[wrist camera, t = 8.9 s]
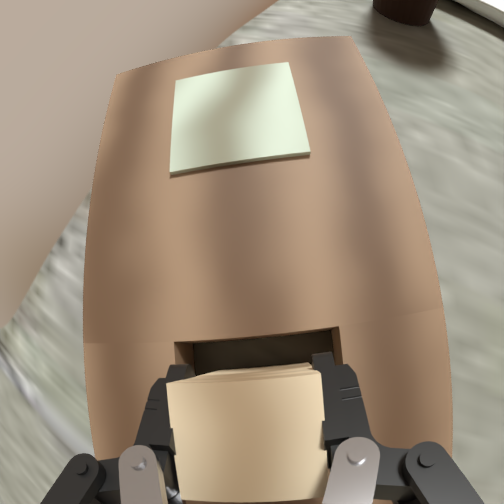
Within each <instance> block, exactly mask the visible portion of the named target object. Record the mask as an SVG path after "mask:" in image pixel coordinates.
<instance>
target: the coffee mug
mask: <svg viewBox="0 0 504 504" xmlns="http://www.w3.org/2000/svg"><path fill="white" fill-rule="evenodd" d="M437 2H438V0H373V6H374V8H375V9H376V10H377V11H378V12H379V13H380V14H382V15H384V16H385V17H387V18H389V19H391V20H394V21H396V22H399V23H403V24H406V25H412V26H423V25H426V24H428V22H429V20H430V18H431V16H432V14H433V11H434V9H435V7H436V5H437Z"/></svg>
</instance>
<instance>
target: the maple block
mask: <svg viewBox="0 0 504 504" xmlns="http://www.w3.org/2000/svg"><path fill="white" fill-rule="evenodd" d="M166 386H167V397H168V407H169V417H170V426H171V428H173V434H174V441H175V449H176V455H174V457H175V464H176V471H177V478H178V484H179V490H180V496H181V499H182V500H194V501H209V502H275V501H290V500H302V499H311V498H320V497H324V494H325V491H326V487H327V483H328V467H327V450H326V451H324V443H323V428H322V421H324V420H325V418H324V404H323V392H322V380H321V373H320V372H319V371H317V370H314V369H313V368H312V365H310V364H309V363H308V362H303V363H294V364H285V365H275V366H264V367H252V368H238V369H222V370H218V371H215V372H211V373H207V374H203V375H199V376H196V377H193V378H189V379H184V380H179V381H174V382H170V383H166Z"/></svg>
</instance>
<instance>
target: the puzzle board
mask: <svg viewBox="0 0 504 504" xmlns="http://www.w3.org/2000/svg"><path fill="white" fill-rule="evenodd" d="M327 330H331V333H332V342H333V351H334V361H335V365H342V364H348V365H349V366H350V367H351V368H352V369H353V370H354V372H355V373H356V375H357V379H358V383H359V388H360V390H361V394H362V398H363V402H364V406H365V410H366V414H367V418H368V422H369V427H370V431H371V434H372V436H373V437H374V439H375V440H376V441H377V442H378V443H380V444H381V445H384V446H386V447H390V448H403V449H411V448H412V447H413V446H415V445H416V444H418V443H421V442H425V441H432V442H436V443H438V444H440V445H441V446H442V447H443V448H444V449H445V450H446V451H447V453H448V454H449V455H450V457H451V458H452V439H453V411H452V385H451V370H450V358H449V348H448V339H447V331H446V323H445V316H444V309H443V303H442V297H441V291H440V286H439V281H438V275H437V270H436V266H435V261H434V256H433V252H432V248H431V243H430V239H429V235H428V231H427V227H426V223H425V220H424V216H423V212H422V209H421V205H420V202H419V199H418V195H417V192H416V189H415V185H414V182H413V179H412V176H411V173H410V170H409V167H408V164H407V161H406V158H405V156H404V153H403V150H402V147H401V145H400V142H399V139H398V137H397V134H396V132H395V129H394V126H393V124H392V122H391V119H390V117H389V114H388V112H387V109H386V107H385V105H384V103H383V100H382V98H381V96H380V93H379V91H378V89H377V87H376V85H375V83H374V80H373V78H372V76H371V74H370V72H369V70H368V68H367V66H366V64H365V62H364V60H363V58H362V56H361V54H360V52H359V50H358V48H357V47H356V45H355V43H354V41H353V39H352V37H351V36H332V37H307V38H293V39H281V40H271V41H263V42H255V43H248V44H241V45H234V46H228V47H223V48H217V49H212V50H207V51H202V52H197V53H193V54H188V55H184V56H180V57H176V58H171V59H168V60H164V61H160V62H156V63H153V64H149V65H146V66H142V67H139V68H136V69H132V70H129V71H126V72H123V73H120V74H117V75H116V78H115V82H114V85H113V90H112V93H111V97H110V101H109V105H108V109H107V113H106V117H105V122H104V126H103V131H102V136H101V140H100V145H99V151H98V156H97V162H96V167H95V174H94V180H93V186H92V193H91V201H90V209H89V217H88V227H87V237H86V250H85V265H84V287H83V343H84V365H85V380H86V392H87V402H88V411H89V419H90V427H91V434H92V440H93V447H94V453H95V458H96V459H97V460H105V459H112V458H117V457H120V456H121V454H122V453H123V452H124V451H125V450H126V449H127V448H129V447H132V446H133V445H134V443H135V439H136V436H137V432H138V429H139V425H140V422H141V419H142V415H143V412H144V411H145V405H146V402H147V401H148V400H147V398H148V395H149V392H150V389H151V387H152V386H153V384H154V383H155V382H156V381H157V379H158V378H166V375H167V372H168V368H169V366H170V365H171V364H190V365H191V366H192V368H193V370H194V373H195V365H194V352H193V343H207V342H221V341H234V340H246V339H257V338H268V337H277V336H286V335H295V334H303V333H311V332H319V331H327ZM329 475H330V470H329V469H328V479H329ZM323 498H324V497H320V498H311V499H302V500H290V501H275V502H209V501H194V500H186V504H322V502H323ZM372 504H393V502H392V501H391V500H378V499H373V502H372Z"/></svg>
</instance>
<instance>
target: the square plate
mask: <svg viewBox="0 0 504 504" xmlns="http://www.w3.org/2000/svg"><path fill="white" fill-rule="evenodd" d="M454 1H456V2H458V3H460V4H462V5H463V6H465V7H466V8H468V9H470V10H472V11H473V12H475V13H477V14H479V15H481V16H483V17H485V18H487V19H489V20H491V21H493V22H495V23H496V24H498V25H500V26H502V27H504V0H454Z"/></svg>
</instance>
